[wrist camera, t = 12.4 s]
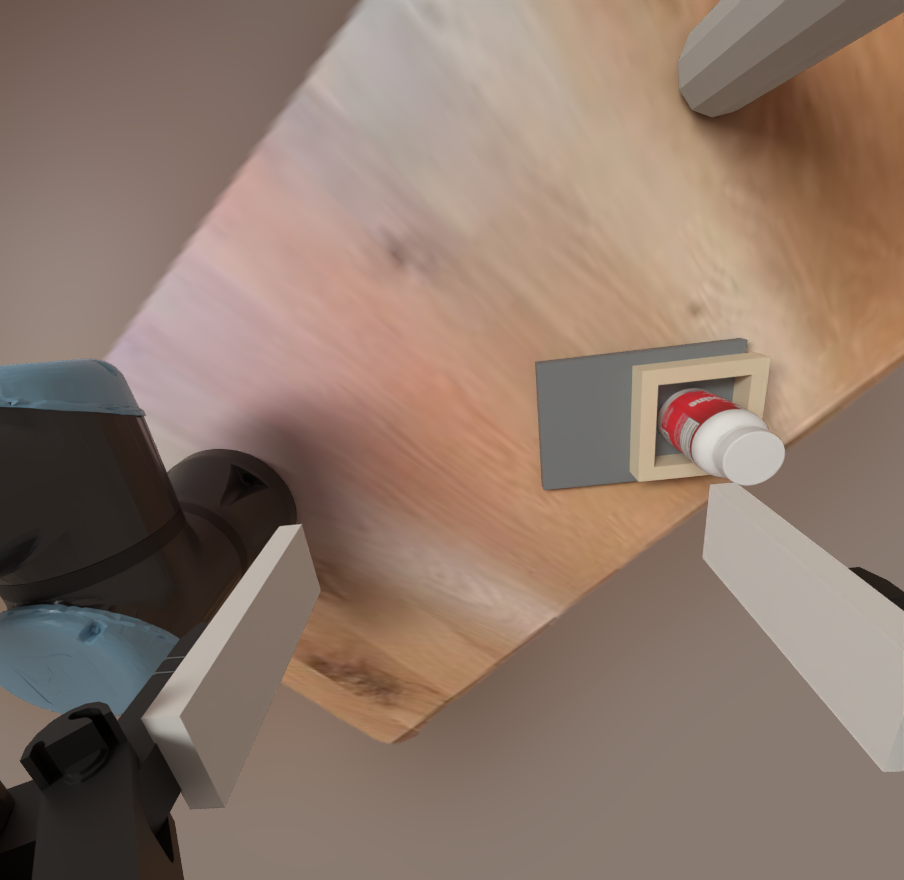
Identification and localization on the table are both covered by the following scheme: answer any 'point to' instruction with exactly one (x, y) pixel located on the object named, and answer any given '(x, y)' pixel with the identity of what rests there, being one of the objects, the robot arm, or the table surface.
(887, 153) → the table surface
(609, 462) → the socket board
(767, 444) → the pill bottle
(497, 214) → the table surface
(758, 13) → the water bottle
